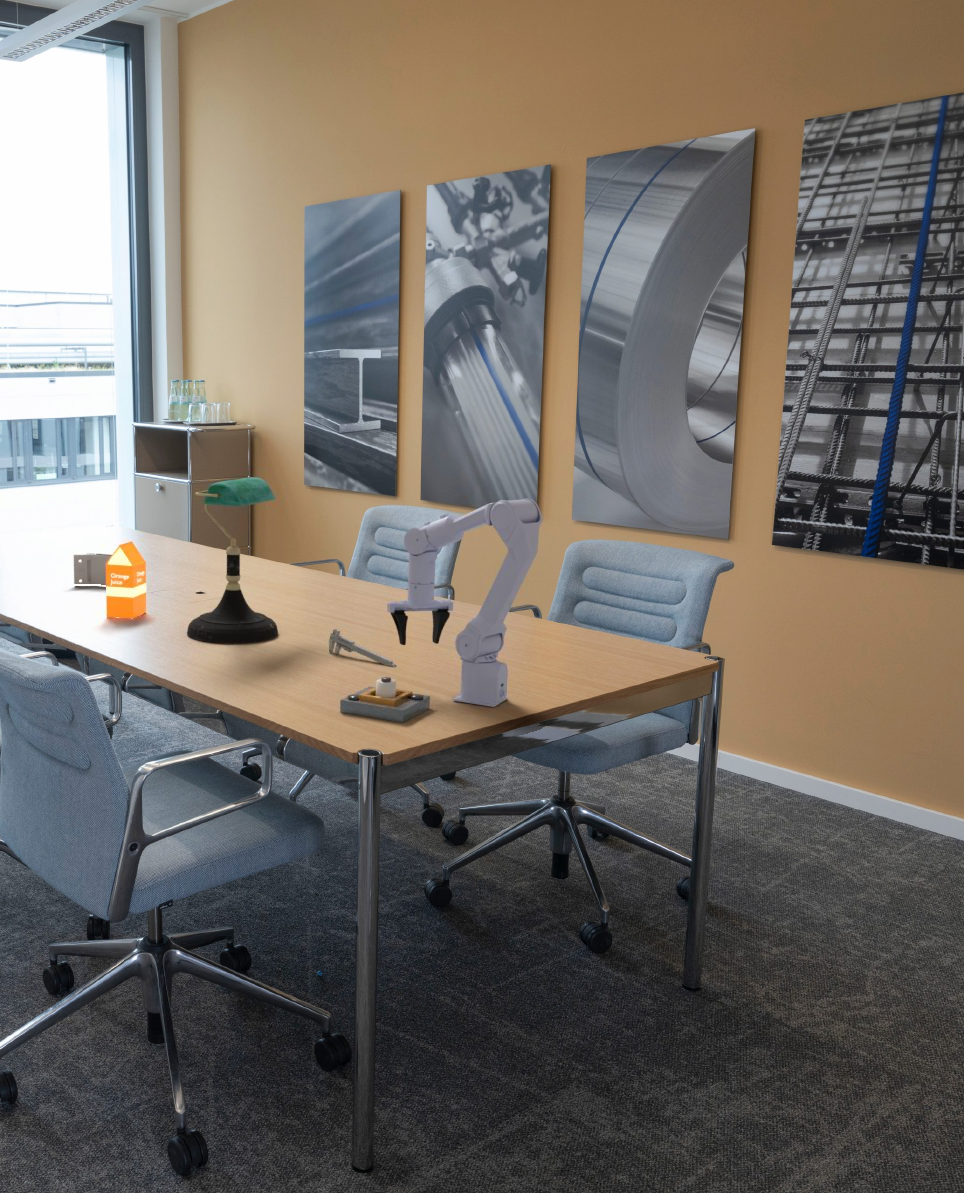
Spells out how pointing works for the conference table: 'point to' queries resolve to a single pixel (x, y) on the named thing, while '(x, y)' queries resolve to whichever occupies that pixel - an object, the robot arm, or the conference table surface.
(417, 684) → the conference table surface
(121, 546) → the orange juice
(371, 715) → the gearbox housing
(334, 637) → the caliper
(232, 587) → the banker's lamp
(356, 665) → the conference table surface
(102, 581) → the hinge
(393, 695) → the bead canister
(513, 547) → the robot arm
